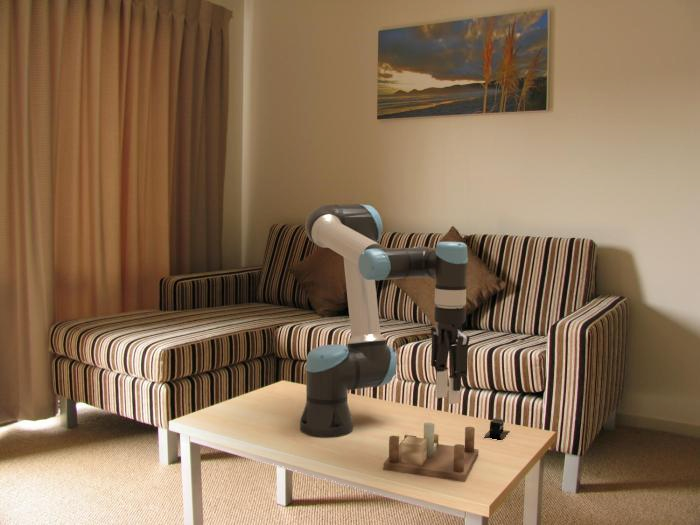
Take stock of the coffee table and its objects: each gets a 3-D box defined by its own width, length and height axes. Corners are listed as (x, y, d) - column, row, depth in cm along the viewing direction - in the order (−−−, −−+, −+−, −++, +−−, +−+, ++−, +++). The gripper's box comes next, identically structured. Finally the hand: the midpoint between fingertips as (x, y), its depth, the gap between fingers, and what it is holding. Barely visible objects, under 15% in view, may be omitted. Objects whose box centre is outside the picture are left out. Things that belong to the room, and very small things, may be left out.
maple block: (401, 462, 173) (402, 442, 173) (406, 455, 178) (407, 436, 178) (421, 465, 172) (422, 445, 171) (426, 458, 176) (426, 438, 176)
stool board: (383, 469, 173) (383, 439, 172) (403, 445, 190) (403, 417, 189) (465, 481, 166) (466, 450, 165) (478, 455, 183) (479, 426, 182)
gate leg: (432, 457, 177) (433, 426, 176) (422, 456, 177) (422, 424, 177) (438, 449, 183) (438, 418, 182) (428, 447, 183) (428, 417, 183)
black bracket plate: (503, 445, 193) (504, 429, 192) (477, 441, 196) (477, 424, 195) (513, 431, 204) (514, 416, 203) (488, 428, 207) (489, 412, 206)
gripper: (485, 310, 165) (482, 408, 167) (443, 300, 181) (441, 389, 184) (458, 312, 162) (455, 412, 164) (417, 301, 178) (415, 392, 180)
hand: (447, 399), depth 174 cm, fingers open, 5 cm apart
